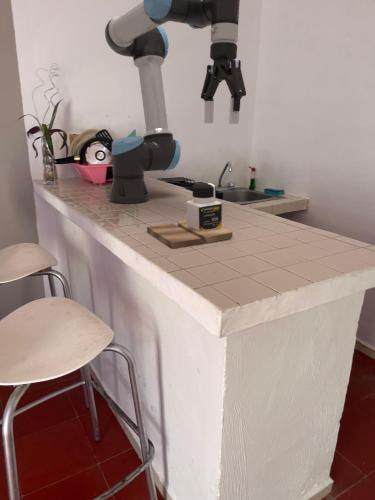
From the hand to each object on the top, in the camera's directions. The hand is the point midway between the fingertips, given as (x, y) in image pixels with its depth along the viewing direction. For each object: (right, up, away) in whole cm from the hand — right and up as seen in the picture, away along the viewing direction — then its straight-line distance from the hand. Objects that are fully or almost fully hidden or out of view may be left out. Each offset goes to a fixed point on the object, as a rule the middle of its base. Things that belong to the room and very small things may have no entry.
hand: (220, 123), depth 111 cm
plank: (-5, -33, -8) cm, 34 cm away
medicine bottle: (-5, -32, -9) cm, 33 cm away
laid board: (-13, -34, -12) cm, 39 cm away
